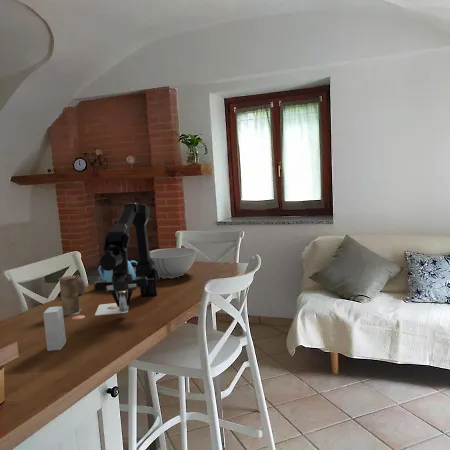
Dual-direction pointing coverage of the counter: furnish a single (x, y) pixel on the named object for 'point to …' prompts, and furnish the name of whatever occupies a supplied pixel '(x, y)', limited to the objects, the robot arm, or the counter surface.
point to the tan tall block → (69, 294)
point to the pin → (122, 301)
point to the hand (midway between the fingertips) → (123, 306)
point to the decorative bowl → (173, 261)
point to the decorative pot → (108, 274)
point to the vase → (80, 285)
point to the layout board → (101, 311)
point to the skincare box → (54, 328)
